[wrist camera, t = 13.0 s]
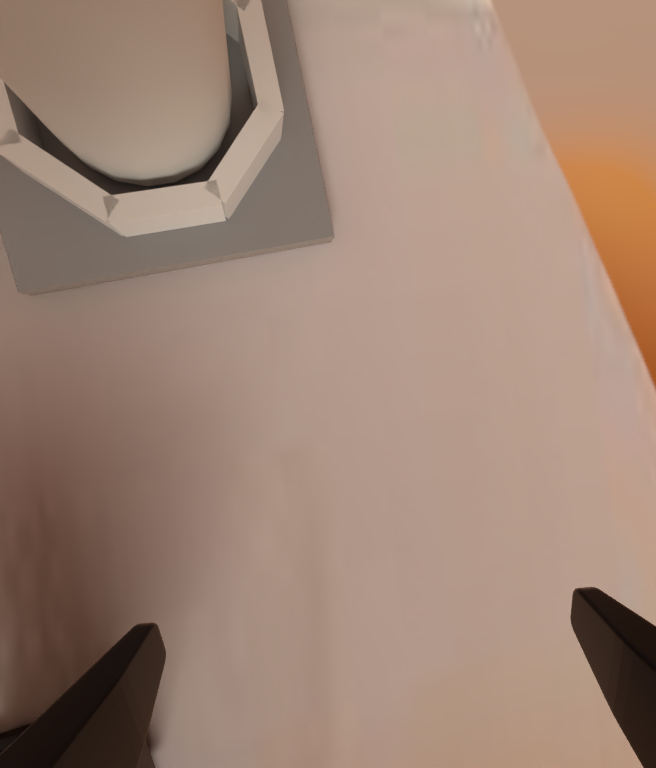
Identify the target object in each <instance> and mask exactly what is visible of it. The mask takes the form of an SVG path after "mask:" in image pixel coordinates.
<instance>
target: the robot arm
mask: <svg viewBox="0 0 656 768" xmlns="http://www.w3.org/2000/svg"><path fill="white" fill-rule="evenodd" d="M571 624H572V627H573V630H574V632H575V635H576V637H577V639H578V641H579V643H580V645H581V647H582V650H583V652H584V654H585V656H586V658H587V660H588V662H589V664H590V667H591V669H592V671H593V673H594V675H595V677H596V679H597V682H598V684H599V686H600V688H601V690H602V692H603V694H604V697H605V699H606V701H607V703H608V705H609V707H610V709H611V711H612V713H613V715H614V717H615V718H616V720H617V722H618V724H619V726H620V727H621V729H622V731H623V733H624V734H625V736H626V738H627V740H628V741H629V743H630V745H631V747H632V748H633V750H634V752H635V754H636V755H637V757H638V759H639V760H640V762H641V764H642V766H643V767H644V768H656V626H655V625H653V624H651V623H650V622H648V621H647V620H645V619H644V618H642V617H641V616H639V615H638V614H636V613H635V612H633V611H632V610H630V609H629V608H627V607H625V606H624V605H622V604H621V603H619V602H618V601H616V600H615V599H613V598H612V597H610V596H609V595H607V594H606V593H604V592H603V591H601V590H599V589H597V588H595V587H585V588H577V589H575V590H574V591H573V597H572V608H571ZM165 658H166V651H165V647H164V643H163V640H162V637H161V634H160V631H159V628H158V625H157V624H155V623H143V624H138V625H136V626H134V627H133V628H132V629H131V630H130V631H129V632H128V633H127V634H126V635H125V636H124V637H123V638H122V639H120V640H119V641H118V642H117V643H116V644H115V645H114V646H113V647H112V648H111V649H110V650H109V651H108V652H107V653H106V654H105V655H104V656H103V657H102V658H101V659H99V660H98V661H97V662H96V663H95V664H94V665H93V666H92V667H91V668H90V669H89V670H88V671H87V672H86V673H85V674H84V675H83V676H82V677H81V678H80V679H79V680H77V681H76V682H75V683H74V684H73V685H72V686H71V687H70V688H69V689H68V690H67V691H66V692H65V693H64V694H63V695H62V696H61V697H60V698H59V699H58V700H57V701H55V702H54V703H53V704H52V705H51V706H50V707H49V708H48V709H47V710H46V711H45V712H44V713H43V714H42V715H41V716H40V717H39V718H38V719H37V720H36V721H35V722H33V723H32V724H30V725H27V726H24V727H21V728H18V729H15V730H12V731H9V732H6V733H2V734H0V768H155V767H154V764H153V760H152V757H151V754H150V750H149V747H148V744H147V740H146V736H147V732H148V728H149V724H150V720H151V716H152V712H153V708H154V704H155V700H156V696H157V692H158V688H159V684H160V680H161V676H162V672H163V668H164V664H165Z"/></svg>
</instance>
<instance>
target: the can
mask: <svg viewBox="0 0 656 768" xmlns="http://www.w3.org/2000/svg"><path fill="white" fill-rule="evenodd" d="M0 78H1V79H2V80H3V81H4V82H5V83H6V84H7V85H8V87H9V88H10V89H11V90H12V91H13V92H14V93H15V94H16V95H17V96H18V97H19V98H20V99H21V100H22V101H23V102H24V104H25V105H26V106H27V107H28V108H29V109H30V110H31V111H32V112H33V113H34V114H35V115H36V116H37V117H38V118H39V119H40V120H41V122H42V123H43V124H44V125H45V126H46V127H47V128H48V129H49V130H50V131H51V132H52V133H53V134H54V135H55V136H56V137H57V139H58V140H59V141H60V142H61V143H62V144H63V145H64V146H65V147H66V148H67V149H69V150H70V151H71V152H72V153H73V154H74V155H75V156H76V157H77V158H79V159H80V160H81V161H82V162H83V163H84V164H85V165H86V166H88V167H89V168H91V169H93V170H95V171H97V172H99V173H101V174H103V175H105V176H107V177H109V178H111V179H113V180H116V181H119V182H125V183H131V184H137V185H143V186H152V185H159V184H166V183H173V182H177V181H179V180H181V179H183V178H185V177H187V176H189V175H191V174H193V173H195V172H196V171H198V170H200V169H201V168H202V167H203V166H204V165H205V164H206V163H207V162H208V161H209V160H210V159H211V158H212V157H213V155H214V154H215V153H216V152H217V151H218V150H219V148H220V146H221V144H222V141H223V139H224V137H225V134H226V132H227V130H228V128H229V125H230V116H231V104H232V89H231V80H230V70H229V60H228V50H227V40H226V30H225V21H224V11H223V1H222V0H0Z"/></svg>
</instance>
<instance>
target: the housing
mask: <svg viewBox="0 0 656 768" xmlns="http://www.w3.org/2000/svg"><path fill="white" fill-rule="evenodd" d="M222 1H223V11H224V21H225V30H226V40H227V50H228V60H229V70H230V80H231V89H232V104H231V116H230V125H229V128H228V130H227V132H226V134H225V137H224V139H223V141H222V144H221V146H220V148H219V150H218V151H217V152H216V153H215V154H214V155H213V157H212V158H211V159H210V160H209V161H208V162H207V163H206V164H205V165H204V166H203V167H202V168H201V169H200V170H198V171H196V172H195V173H193V174H191V175H189V176H187V177H185V178H183V179H181V180H179V181H177V182H173V183H166V184H159V185H152V186H143V185H137V184H131V183H125V182H119V181H116V180H113V179H111V178H109V177H107V176H105V175H103V174H101V173H99V172H97V171H95V170H93V169H91V168H89V167H88V166H86V165H85V164H84V163H83V162H82V161H81V160H80V159H79V158H77V157H76V156H75V155H74V154H73V153H72V152H71V151H70V150H69V149H67V148H66V147H65V146H64V145H63V144H62V143H61V142H60V141H59V140H58V139H57V137H56V136H55V135H54V134H53V133H52V132H51V131H50V130H49V129H48V128H47V127H46V126H45V125H44V124H43V123H42V122H41V120H40V119H39V118H38V117H37V116H36V115H35V114H34V113H33V112H32V111H31V110H30V109H29V108H28V107H27V106H26V105H25V104H24V102H23V101H22V100H21V99H20V98H19V97H18V96H17V95H16V94H15V93H14V92H13V91H12V90H11V89H10V88H9V87H8V85H7V84H6V83H5V82H4V81H3V80H2V79H1V78H0V232H1V236H2V239H3V243H4V246H5V249H6V253H7V256H8V259H9V263H10V266H11V270H12V273H13V276H14V280H15V283H16V287H17V290H18V292H20V293H24V294H28V295H35V294H40V293H46V292H52V291H57V290H63V289H69V288H74V287H80V286H86V285H91V284H97V283H103V282H108V281H114V280H119V279H125V278H131V277H136V276H142V275H148V274H153V273H159V272H165V271H170V270H176V269H181V268H187V267H193V266H198V265H204V264H210V263H215V262H221V261H227V260H232V259H238V258H244V257H249V256H255V255H260V254H266V253H272V252H277V251H283V250H289V249H294V248H300V247H306V246H311V245H317V244H323V243H328V242H331V241H332V239H333V238H334V232H333V228H332V223H331V218H330V213H329V208H328V203H327V198H326V193H325V188H324V183H323V178H322V173H321V168H320V163H319V158H318V154H317V149H316V144H315V139H314V134H313V129H312V124H311V119H310V114H309V109H308V104H307V99H306V94H305V89H304V85H303V80H302V75H301V70H300V65H299V60H298V55H297V50H296V45H295V40H294V35H293V30H292V25H291V20H290V15H289V11H288V6H287V1H286V0H222Z"/></svg>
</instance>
